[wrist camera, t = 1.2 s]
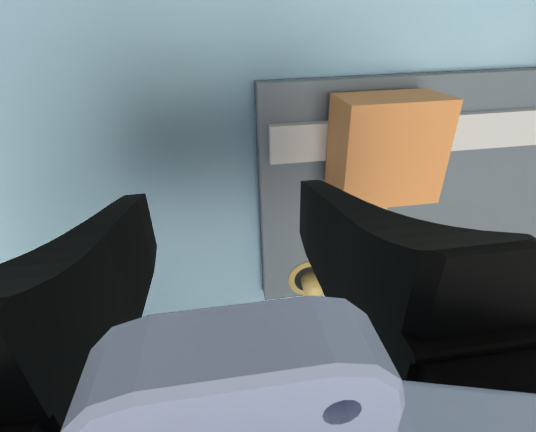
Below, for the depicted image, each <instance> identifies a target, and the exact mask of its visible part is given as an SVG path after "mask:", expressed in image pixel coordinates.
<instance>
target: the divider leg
mask: <svg viewBox="0 0 536 432" xmlns="http://www.w3.org/2000/svg"><path fill="white" fill-rule="evenodd" d="M463 100H464V99H460V98H457V97H454V96H451V95H447V94H444V93H441V92H438V91H434V90H431V89H428V88H416V89H397V90H378V91H359V92H340V93H330V104H329V120H328V137H327V153H326V169H325V182H326V183H328V184H331V185H333V186H335V187H337V188H339V189H341V190H343V191H345V192H347V193H349V194H351V195H353V196H355V197H357V198H359V199H362V200H364V201H366V202H369V203H371V204H373V205H376V206H378V207H381V208H384V209H386V210H387V208H388V207H399V206H409V205H420V204H431V203H438V202H439V198H440V194H441V190H442V186H443V182H444V178H445V173H446V169H447V165H448V161H449V157H450V153H451V149H452V145H453V141H454V137H455V132H456V128H457V124H458V120H459V116H460V112H461V108H462V104H463Z"/></svg>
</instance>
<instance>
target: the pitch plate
mask: <svg viewBox="0 0 536 432" xmlns="http://www.w3.org/2000/svg"><path fill="white" fill-rule="evenodd" d="M416 88H428V89H431V90H434V91H438V92H441V93H444V94H447V95H451V96H454V97H457V98H460V99H464V100H463V104H462V108H461V112H460V116H459V120H458V124H457V128H456V132H455V137H454V141H453V145H452V149H451V153H450V157H449V161H448V165H447V169H446V173H445V178H444V182H443V186H442V190H441V194H440V198H439V202H438V203H431V204H420V205H409V206H399V207H388V208H387V210H389V211H392V212H395V213H399V214H402V215H405V216H408V217H412V218H416V219H420V220H424V221H429V222H433V223H438V224H443V225H449V226H454V227H461V228H468V229H476V230H484V231H497V232H510V233H524V234H530V235H532V236H533V237H535V238H536V67H531V68H510V69H489V70H468V71H447V72H426V73H404V74H383V75H362V76H341V77H320V78H299V79H278V80H256V81H255V97H256V122H257V147H258V172H259V196H260V221H261V246H262V271H263V291H264V296H265V300H269V299H278V298H286V297H294V296H303V295H305V296H322V295H323V291H322V289H321V286H320V284H319V282H318V280H317V278H316V276H315V274H314V271H313V269H312V267H311V265H310V263H309V260H308V258H307V256H306V253H305V250H304V247H303V243H302V240H301V236H300V232H299V230H300V189H301V181H307V180H321V181H324V182H325V169H326V153H327V137H328V120H329V104H330V93H340V92H359V91H378V90H397V89H416Z"/></svg>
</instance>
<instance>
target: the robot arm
mask: <svg viewBox="0 0 536 432" xmlns="http://www.w3.org/2000/svg"><path fill="white" fill-rule="evenodd" d="M299 232H300V236H301V240H302V243H303V247H304V250H305V253H306V256H307V258H308V260H309V263H310V265H311V267H312V269H313V271H314V274H315V276H316V278H317V280H318V282H319V284H320V286H321V289H322V291H323V293H324V295H325V297H322V296H303V297H295V298H286V299H278V300H270V301H261V302H253V303H244V304H236V305H228V306H219V307H211V308H203V309H194V310H186V311H178V312H169V313H161V314H153V315H147V316H144V317H142V314H143V310H144V306H145V303H146V299H147V295H148V292H149V288H150V284H151V281H152V277H153V273H154V268H155V259H156V249H157V245H156V240H155V236H154V231H153V227H152V222H151V218H150V213H149V208H148V204H147V199H146V195H145V194H135V195H125V196H123V197H121V198H119V199H118V200H116V201H114V202H113V203H111V204H110V205H108V206H107V207H105V208H104V209H103V210H101V211H100V212H98V213H97V214H95V215H94V216H92V217H91V218H89V219H88V220H86V221H84V222H83V223H81V224H80V225H78V226H76V227H75V228H73V229H71V230H70V231H68V232H66V233H65V234H63V235H61V236H60V237H58V238H56V239H54V240H52V241H50V242H49V243H47V244H44V245H42V246H40V247H38V248H36V249H34V250H32V251H30V252H28V253H26V254H23V255H21V256H19V257H16V258H14V259H11V260H9V261H6V262H4V263H1V264H0V432H536V238H535V237H533V236H532V235H530V234H524V233H510V232H497V231H484V230H476V229H468V228H461V227H454V226H449V225H443V224H438V223H433V222H429V221H424V220H420V219H416V218H412V217H408V216H405V215H402V214H399V213H395V212H392V211H389V210H386V209H384V208H381V207H378V206H376V205H373V204H371V203H369V202H366V201H364V200H362V199H359V198H357V197H355V196H353V195H351V194H349V193H347V192H345V191H343V190H341V189H339V188H337V187H335V186H333V185H331V184H328V183H326V182H324V181H321V180H307V181H301V189H300V230H299Z"/></svg>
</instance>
